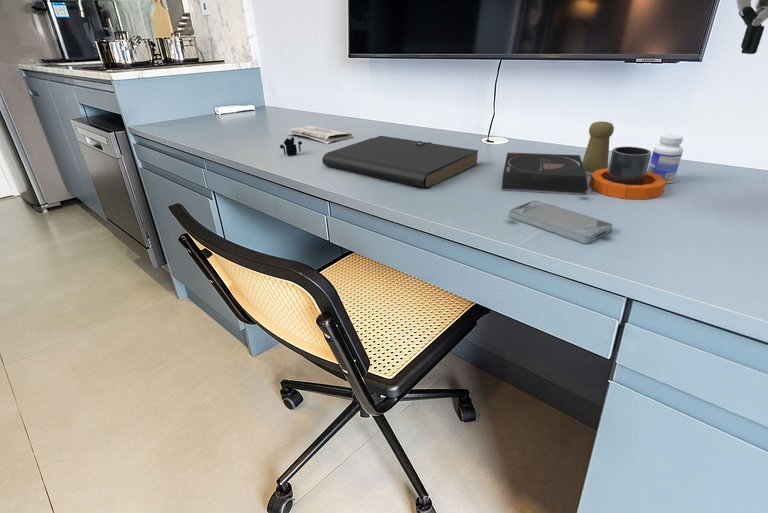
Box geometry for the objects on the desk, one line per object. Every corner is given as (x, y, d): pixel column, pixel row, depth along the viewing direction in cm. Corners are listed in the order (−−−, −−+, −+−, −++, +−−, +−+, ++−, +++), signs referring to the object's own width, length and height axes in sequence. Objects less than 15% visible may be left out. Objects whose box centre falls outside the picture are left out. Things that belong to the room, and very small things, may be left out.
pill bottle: (645, 175, 100) (656, 132, 95) (673, 177, 97) (685, 133, 93) (646, 182, 95) (657, 137, 91) (675, 185, 93) (688, 139, 88)
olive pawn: (594, 173, 102) (603, 125, 97) (575, 167, 107) (582, 121, 102) (613, 169, 104) (623, 122, 99) (593, 163, 109) (601, 118, 104)
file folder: (479, 148, 110) (423, 174, 95) (478, 164, 112) (423, 192, 97) (381, 134, 130) (321, 153, 114) (382, 147, 132) (323, 168, 116)
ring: (649, 178, 97) (652, 168, 96) (672, 200, 86) (675, 188, 84) (584, 177, 100) (586, 167, 99) (598, 198, 88) (600, 186, 87)
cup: (636, 183, 95) (645, 146, 91) (646, 194, 89) (656, 155, 85) (601, 182, 97) (609, 146, 93) (609, 193, 91) (617, 155, 87)
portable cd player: (586, 195, 90) (590, 176, 88) (501, 190, 95) (503, 172, 93) (579, 171, 104) (582, 155, 102) (505, 168, 109) (507, 152, 107)
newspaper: (286, 135, 154) (285, 127, 153) (314, 132, 161) (314, 125, 160) (324, 144, 139) (323, 136, 138) (353, 140, 146) (353, 133, 145)
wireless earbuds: (282, 157, 127) (279, 140, 124) (278, 156, 128) (276, 138, 126) (304, 153, 130) (301, 136, 128) (300, 151, 132) (298, 135, 130)
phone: (586, 245, 70) (587, 237, 70) (506, 216, 82) (507, 210, 81) (613, 230, 74) (614, 224, 74) (533, 205, 86) (534, 199, 85)
